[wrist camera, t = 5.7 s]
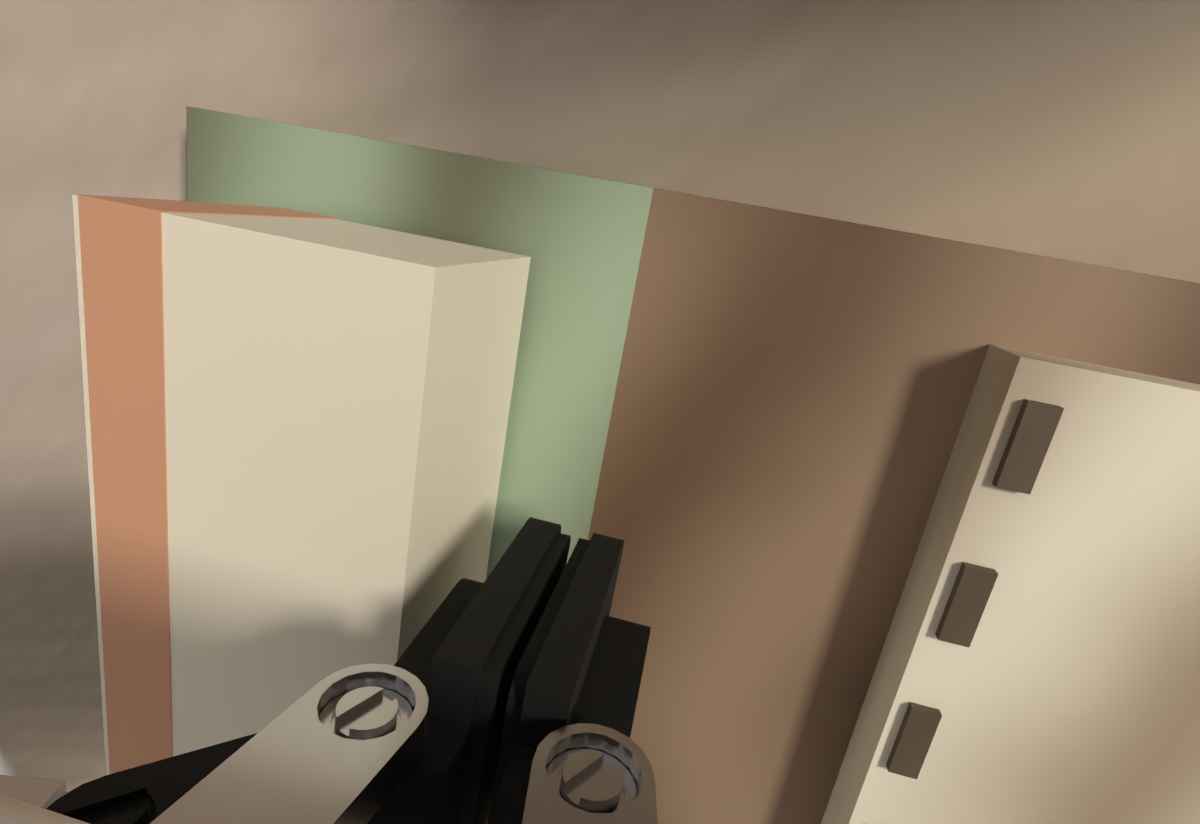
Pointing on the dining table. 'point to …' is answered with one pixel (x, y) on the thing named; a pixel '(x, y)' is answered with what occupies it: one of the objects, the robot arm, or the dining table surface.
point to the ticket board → (833, 484)
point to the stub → (278, 451)
